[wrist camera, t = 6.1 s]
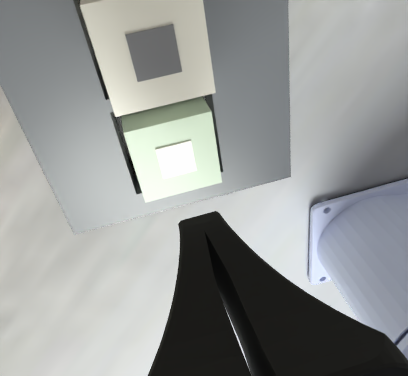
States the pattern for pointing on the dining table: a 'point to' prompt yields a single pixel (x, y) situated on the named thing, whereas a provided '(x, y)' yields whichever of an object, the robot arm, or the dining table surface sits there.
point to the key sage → (173, 148)
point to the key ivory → (150, 51)
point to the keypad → (103, 112)
